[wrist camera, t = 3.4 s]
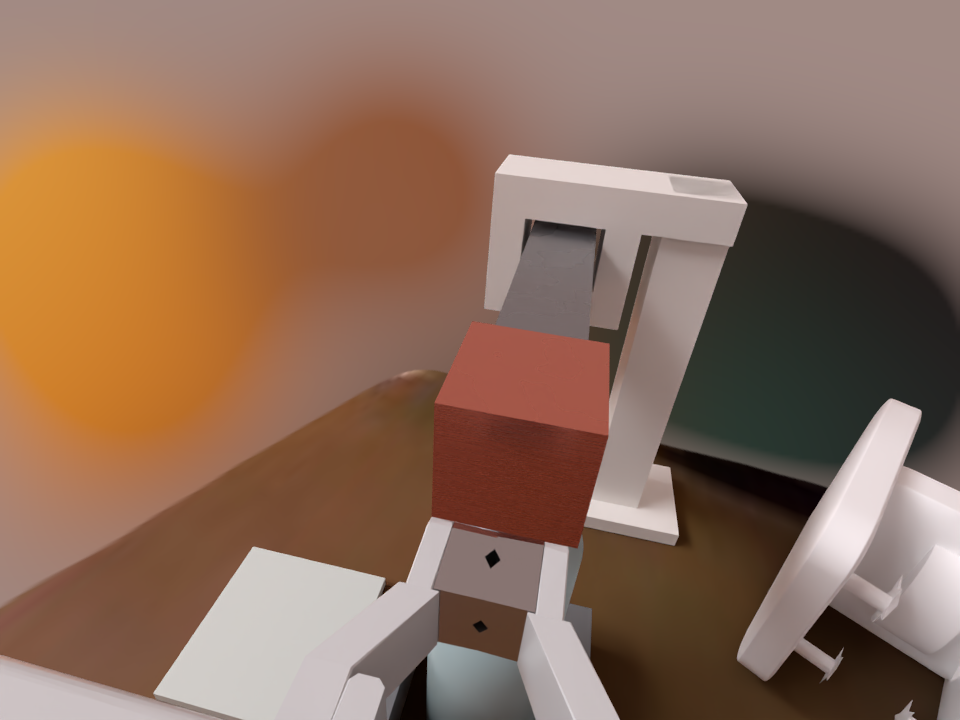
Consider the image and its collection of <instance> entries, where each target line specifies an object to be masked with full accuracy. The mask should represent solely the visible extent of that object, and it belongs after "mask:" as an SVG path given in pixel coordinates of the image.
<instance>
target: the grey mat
mask: <svg viewBox="0 0 960 720" xmlns="http://www.w3.org/2000/svg"><path fill="white" fill-rule="evenodd" d="M385 585H386V583H385V578H382V577H378V576H374V575H370V574H366V573H361V572H357V571H353V570H349V569H345V568H341V567H336V566H332V565H328V564H324V563H320V562H315V561H311V560H307V559H303V558H299V557H295V556H290V555H286V554H282V553H278V552H274V551H269V550H265V549H261V548H257V547H253V548H252V549H251V551H250V552H249V554H248V555H247V557H246V558H245V559H244V561H243V562H242V564H241V565H240V567H239V568H238V570H237V571H236V573H235V574H234V576H233V577H232V579H231V580H230V582H229V583H228V584H227V586H226V587H225V589H224V590H223V592H222V593H221V595H220V596H219V598H218V599H217V601H216V602H215V604H214V605H213V607H212V608H211V609H210V611H209V612H208V614H207V615H206V617H205V618H204V620H203V621H202V623H201V624H200V626H199V627H198V629H197V630H196V631H195V633H194V634H193V636H192V637H191V639H190V640H189V642H188V643H187V645H186V646H185V648H184V649H183V651H182V652H181V654H180V655H179V656H178V658H177V659H176V661H175V662H174V664H173V665H172V667H171V668H170V670H169V671H168V673H167V674H166V676H165V677H164V679H163V680H162V681H161V683H160V684H159V686H158V687H157V689H156V690H155V692H154V693H153V694H154V696H155V697H156V699H157V700H159V701H163V702H166V703H170V704H173V705H177V706H180V707H184V708H187V709H190V710H194V711H197V712H201V713H204V714H208V715H211V716H215V717H218V718H221V719H225V720H274V719H275V717H276V715H277V713H278V711H279V709H280V707H281V705H282V703H283V701H284V699H285V697H286V695H287V692H288V690H289V688H290V686H291V684H292V682H293V680H294V678H295V676H296V674H297V672H298V670H299V668H300V666H301V664H302V662H303V660H304V658H305V656H306V655H307V654H308V653H310V652H311V651H312V650H314V649H315V648H316V647H317V646H319V645H320V644H321V643H322V642H324V641H325V640H326V639H327V638H329V637H330V636H331V635H333V634H334V633H335V632H336V631H338V630H339V629H340V628H341V627H343V626H344V625H345V624H346V623H348V622H349V621H350V620H351V619H353V618H354V617H355V616H357V615H358V614H359V613H360V612H362V611H363V610H364V609H365V608H367V607H368V606H369V605H370V604H372V603H373V602H374V601H375V600H377V599H378V598H379V597H381V595H382V592H383V590H384V587H385Z"/></svg>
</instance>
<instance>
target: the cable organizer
mask: <svg viewBox="0 0 960 720" xmlns="http://www.w3.org/2000/svg"><path fill="white" fill-rule="evenodd" d="M920 419H921V410H919V409H916V408H914V407H911V406H909V405H906V404H904V403H902V402H899V401H897V400H894V399H890V400H888V401H887V402H886V403H885V404H884V405H883V406H882V407H881V408H880V409H879V410H878V412H877V413H876V414H875V416H874V417H873V419H872V420H871V422H870V423H869V425H868V426H867V428H866V430H865V431H864V433H863V434H862V436H861V437H860V439H859V440H858V442H857V444H856V445H855V447H854V448H853V450H852V451H851V453H850V455H849V456H848V458H847V459H846V461H845V462H844V464H843V466H842V467H841V469H840V470H839V472H838V474H837V475H836V477H835V478H834V480H833V481H832V483H831V484H830V486H829V488H828V489H827V491H826V492H825V494H824V495H823V497H822V499H821V500H820V502H819V503H818V505H817V506H816V508H815V510H814V511H813V513H812V514H811V516H810V518H809V519H808V521H807V523H806V525H805V526H804V528H803V530H802V532H801V534H800V535H799V537H798V539H797V541H796V543H795V545H794V546H793V548H792V550H791V552H790V554H789V555H788V557H787V559H786V561H785V563H784V564H783V566H782V568H781V570H780V572H779V573H778V575H777V577H776V579H775V581H774V583H773V584H772V586H771V588H770V590H769V592H768V593H767V595H766V597H765V599H764V601H763V602H762V604H761V606H760V608H759V610H758V611H757V613H756V615H755V617H754V619H753V621H752V622H751V624H750V626H749V628H748V630H747V632H746V634H745V636H744V638H743V640H742V643H741V645H740V648H739V651H738V655H737V661H738V662H739V663H741V664H742V665H743V666H745V667H746V668H747V669H749V670H750V671H751V672H753V673H754V674H755V675H757V676H758V677H759V678H761V679H762V680H763V681H767V680H769V679H770V678H771V677H772V676H773V675H774V674H775V673H776V672H777V670H778V669H779V668H780V667H781V665H782V664H783V663H784V661H785V660H786V659H787V658H788V656H789V655H790V654H791V652H792V651H793V650H794V651H795V652H797V653H798V654H800V655H801V656H802V657H804V658H805V659H807V660H808V661H810V662H811V663H812V664H814V665H815V666H817V667H818V668H820V669H821V670H822V671H824V672H825V673H826V674H825V675H824V677H823V679H822V680H821V682H822V681H823V680H824V679H826V678H827V680H828V679H829V678H830V677H831V675H832V674H833V673H834V672H835V670H836V669H837V667H838V665H839V664H840V662H841V660H842V658H843V657H841V654H842V652H843V649H844V648H843V649H842V650H841V652H840V653H839V655H838V656H837V657H836V659H835V660H834V659H833V658H831V657H830V656H828V655H827V654H826V653H824V652H823V651H821V650H820V649H818V648H817V647H815V646H814V645H812V644H811V643H810V642H808V641H807V640H805V639H804V638H803V637H804V636H805V634H806V633H807V632H808V631H809V629H810V628H811V627H812V625H813V624H814V623H815V622H816V620H817V619H818V618H819V617H820V615H821V614H822V613H823V611H824V610H825V609H826V608H827V606H828V605H829V606H831V607H832V608H834V609H836V610H837V611H839V612H840V613H842V614H843V615H845V616H847V617H848V618H850V619H851V620H853V621H855V622H856V623H858V624H859V625H861V626H862V627H864V628H866V629H867V630H869V631H870V632H872V633H873V634H875V635H877V636H878V637H880V638H881V639H883V640H884V641H886V642H888V643H889V644H891V645H892V646H894V647H895V648H897V649H899V650H900V651H902V652H903V653H905V654H906V655H908V656H910V657H911V658H913V659H914V660H916V661H917V662H919V663H921V664H922V665H924V666H925V667H927V668H928V669H930V670H932V671H933V672H935V673H936V674H938V675H939V676H941V677H943V678H945V680H944V685H943V690H942V695H941V701H940V706H939V711H938V716H937V720H960V491H957V490H955V489H953V488H951V487H949V486H947V485H945V484H942V483H940V482H938V481H936V480H934V479H932V478H930V477H927V476H925V475H923V474H921V473H919V472H917V471H914V470H912V469H910V468H908V467H904V466H903V463H904V461H905V458H906V456H907V453H908V451H909V448H910V446H911V443H912V441H913V438H914V436H915V433H916V430H917V428H918V425H919V423H920ZM821 682H820V683H821ZM820 683H819V684H820ZM912 701H913V700H912ZM912 701H911V702H910V703H909V704H908V705H907V706H906V707H905V708H904V709H903V711H902V712H901V713H899V714H896V715H895V719H894V720H916V719H915V718H913V717H912V715H913V714H914V712H909V709H910V707H911V704H912Z"/></svg>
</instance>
